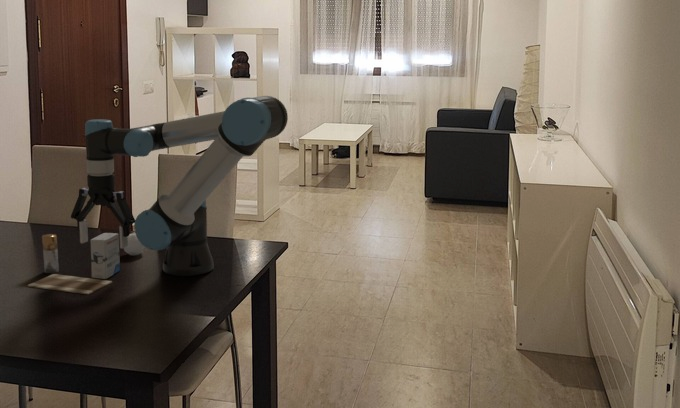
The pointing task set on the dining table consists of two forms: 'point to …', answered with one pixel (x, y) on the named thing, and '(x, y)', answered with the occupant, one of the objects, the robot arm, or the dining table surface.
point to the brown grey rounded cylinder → (50, 253)
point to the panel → (70, 284)
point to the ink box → (105, 255)
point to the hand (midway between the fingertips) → (103, 244)
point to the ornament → (134, 245)
